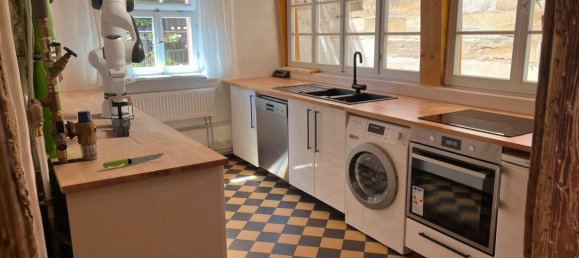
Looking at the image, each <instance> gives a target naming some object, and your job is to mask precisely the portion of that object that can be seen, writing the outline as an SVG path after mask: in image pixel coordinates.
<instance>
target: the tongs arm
mask: <svg viewBox="0 0 579 258" xmlns="http://www.w3.org/2000/svg"><path fill="white" fill-rule="evenodd" d="M122 134H123V137H129V136H130V129H129V127H128V124H127V122H122Z"/></svg>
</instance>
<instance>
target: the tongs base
mask: <svg viewBox="0 0 579 258" xmlns="http://www.w3.org/2000/svg"><path fill="white" fill-rule="evenodd" d="M113 119H114V120H112V122H111V128H112V131H113V132H116V133H115V134H116V137H117V138H121V137H124V134H123V131H122V122H127V124H128V127H129V130H131V125H130V124H131V123H130V124H129V117H123V118H121V119H116V118H113Z"/></svg>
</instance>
